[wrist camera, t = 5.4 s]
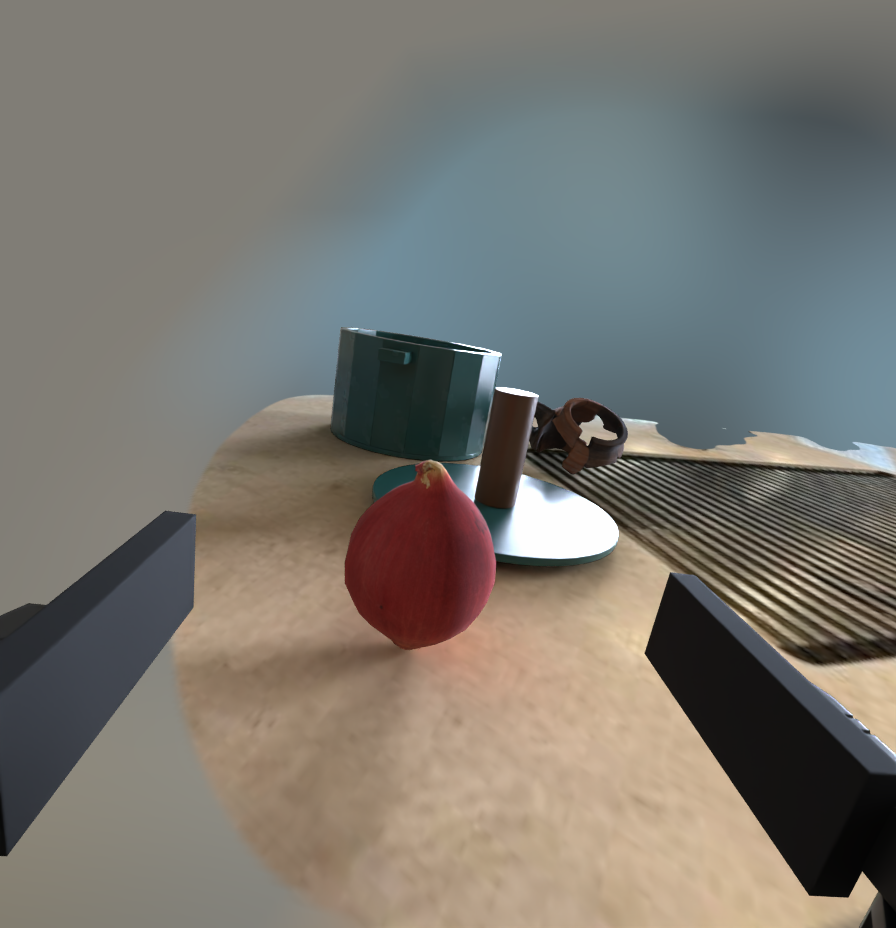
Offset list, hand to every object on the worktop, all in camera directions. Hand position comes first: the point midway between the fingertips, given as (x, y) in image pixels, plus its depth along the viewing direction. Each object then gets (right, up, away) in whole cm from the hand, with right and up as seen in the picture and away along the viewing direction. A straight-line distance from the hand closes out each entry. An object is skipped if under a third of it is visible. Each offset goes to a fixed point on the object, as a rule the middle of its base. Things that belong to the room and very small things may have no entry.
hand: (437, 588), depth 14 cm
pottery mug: (+13, +3, +42) cm, 44 cm away
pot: (-4, +6, +41) cm, 42 cm away
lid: (+4, 0, +23) cm, 23 cm away
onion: (-1, -4, +7) cm, 8 cm away
